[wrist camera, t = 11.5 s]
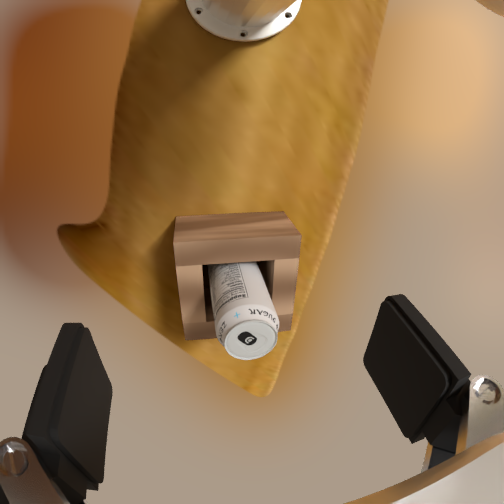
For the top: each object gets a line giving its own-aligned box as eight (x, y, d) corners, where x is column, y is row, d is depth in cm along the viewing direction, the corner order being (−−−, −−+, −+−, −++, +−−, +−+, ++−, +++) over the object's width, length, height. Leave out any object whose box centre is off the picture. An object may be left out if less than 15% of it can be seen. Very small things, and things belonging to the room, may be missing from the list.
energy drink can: (230, 287, 42) (249, 372, 29) (197, 261, 40) (203, 345, 27) (263, 258, 41) (296, 337, 28) (231, 229, 38) (253, 303, 25)
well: (176, 216, 36) (173, 242, 30) (283, 211, 39) (301, 235, 32) (184, 305, 42) (185, 340, 36) (277, 298, 45) (290, 330, 38)
